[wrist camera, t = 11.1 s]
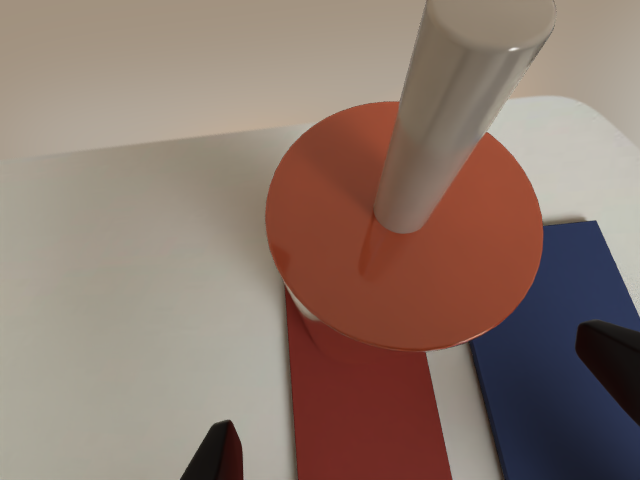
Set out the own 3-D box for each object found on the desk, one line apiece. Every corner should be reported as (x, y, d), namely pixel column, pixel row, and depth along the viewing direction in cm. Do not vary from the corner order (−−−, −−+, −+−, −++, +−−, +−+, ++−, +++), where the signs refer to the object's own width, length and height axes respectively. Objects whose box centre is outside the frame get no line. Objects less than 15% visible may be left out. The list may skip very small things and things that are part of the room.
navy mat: (799, 697, 13) (816, 709, 12) (568, 728, 13) (577, 741, 12) (590, 223, 20) (596, 219, 20) (442, 239, 20) (444, 236, 20)
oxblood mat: (467, 566, 14) (472, 573, 14) (306, 586, 14) (305, 593, 14) (403, 259, 20) (405, 257, 19) (284, 272, 19) (283, 270, 19)
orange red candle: (414, 339, 17) (1038, 110, 2) (331, 383, 17) (365, 502, 1) (370, 260, 19) (542, -194, 4) (293, 297, 18) (117, -73, 3)
